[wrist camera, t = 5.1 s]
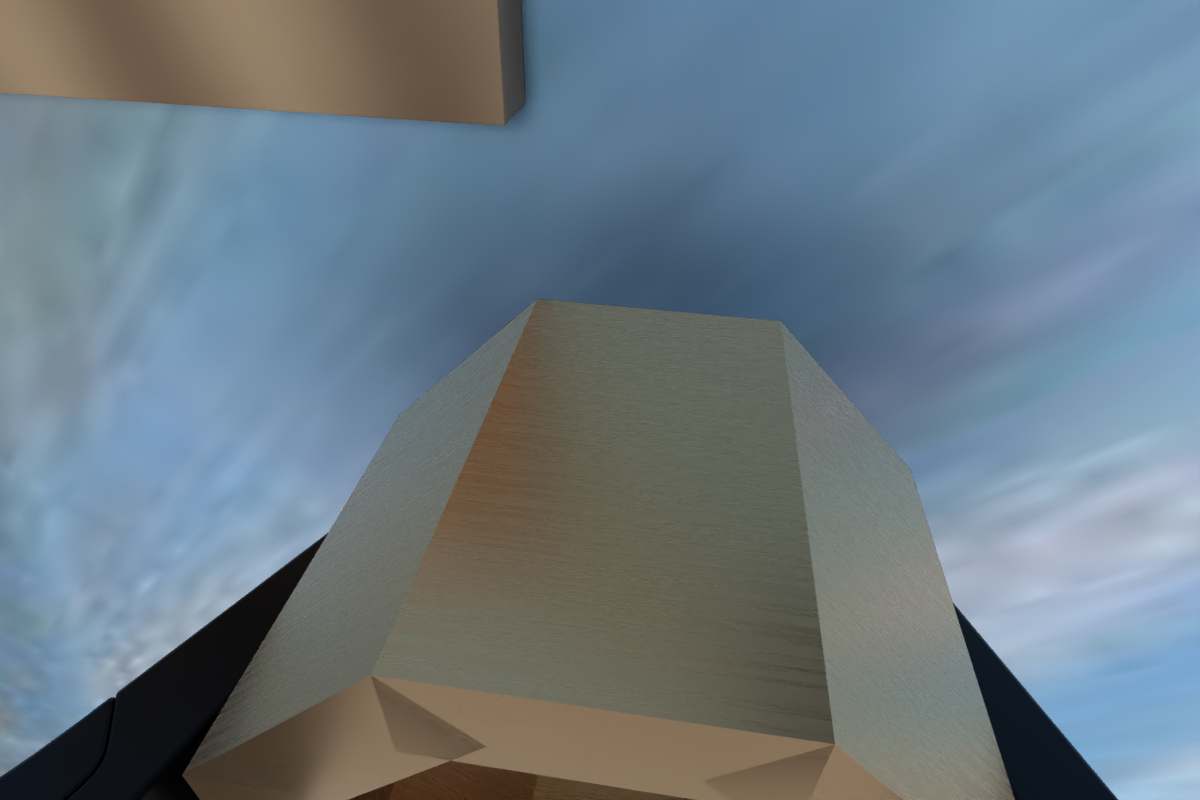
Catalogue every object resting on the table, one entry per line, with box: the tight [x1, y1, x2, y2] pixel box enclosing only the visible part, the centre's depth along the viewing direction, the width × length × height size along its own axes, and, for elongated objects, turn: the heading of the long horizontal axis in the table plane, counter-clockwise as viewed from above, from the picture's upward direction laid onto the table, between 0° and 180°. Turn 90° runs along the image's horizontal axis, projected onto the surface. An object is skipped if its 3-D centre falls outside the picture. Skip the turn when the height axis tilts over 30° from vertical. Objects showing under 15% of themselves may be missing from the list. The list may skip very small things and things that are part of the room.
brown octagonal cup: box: [182, 299, 1015, 800], centre depth 8 cm, size 7×7×5 cm
